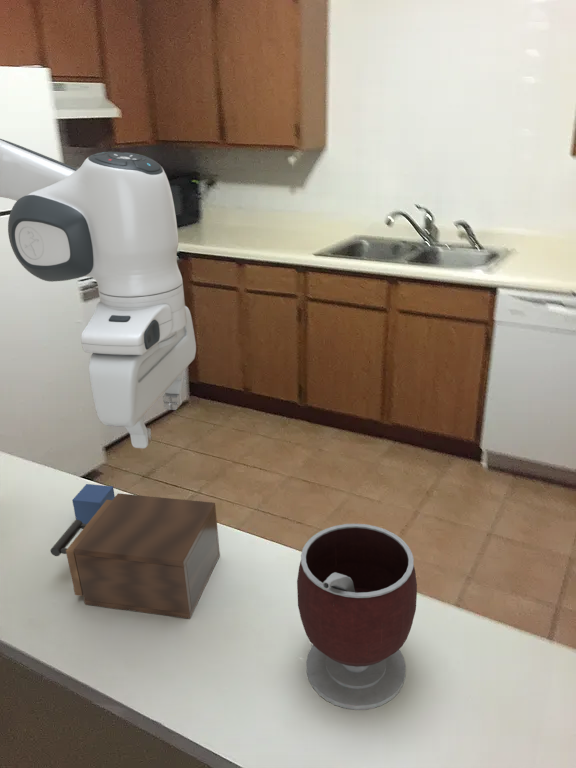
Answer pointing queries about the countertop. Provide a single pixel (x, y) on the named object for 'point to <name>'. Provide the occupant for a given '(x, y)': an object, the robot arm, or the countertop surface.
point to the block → (91, 501)
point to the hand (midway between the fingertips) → (158, 425)
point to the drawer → (65, 540)
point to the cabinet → (149, 555)
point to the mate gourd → (356, 613)
